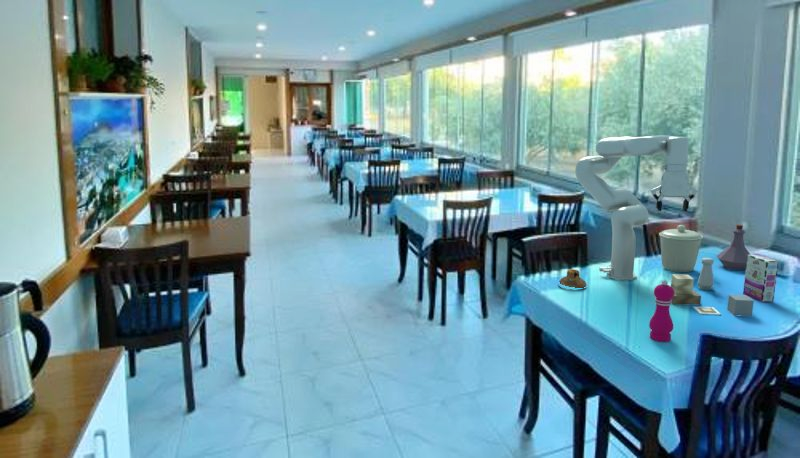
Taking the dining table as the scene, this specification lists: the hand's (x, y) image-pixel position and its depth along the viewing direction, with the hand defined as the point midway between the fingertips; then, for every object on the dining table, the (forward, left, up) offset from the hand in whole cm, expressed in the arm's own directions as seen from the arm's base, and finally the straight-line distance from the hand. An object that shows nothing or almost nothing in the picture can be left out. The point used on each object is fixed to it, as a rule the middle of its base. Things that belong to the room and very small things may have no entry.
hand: (672, 210), depth 226 cm
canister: (+14, +30, -33) cm, 47 cm away
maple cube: (+2, -14, -30) cm, 33 cm away
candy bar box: (+32, -8, -33) cm, 47 cm away
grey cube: (+18, -26, -33) cm, 46 cm away
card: (+7, -25, -33) cm, 42 cm away
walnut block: (+2, -14, -34) cm, 36 cm away
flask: (+41, +36, -33) cm, 64 cm away
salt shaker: (+16, +2, -33) cm, 37 cm away
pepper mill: (-17, -53, -33) cm, 65 cm away
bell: (-37, 0, -34) cm, 50 cm away
